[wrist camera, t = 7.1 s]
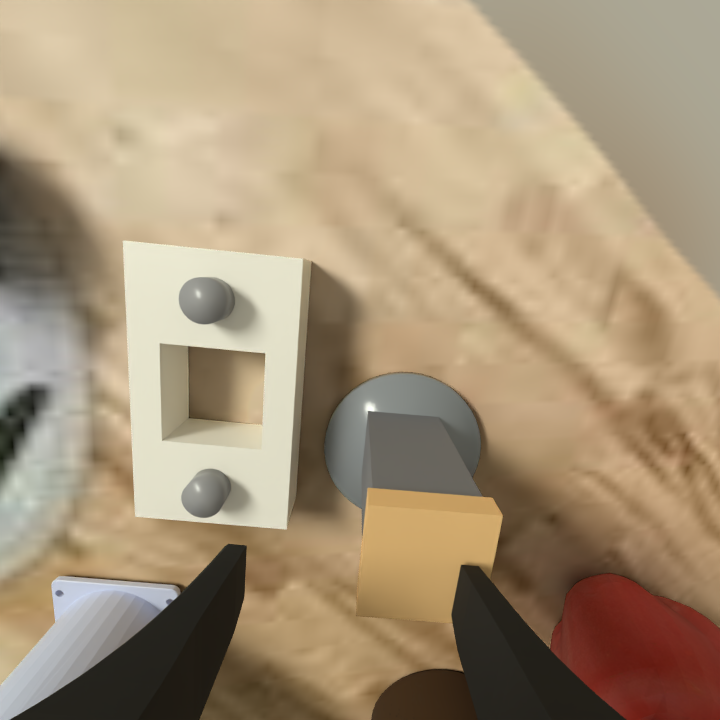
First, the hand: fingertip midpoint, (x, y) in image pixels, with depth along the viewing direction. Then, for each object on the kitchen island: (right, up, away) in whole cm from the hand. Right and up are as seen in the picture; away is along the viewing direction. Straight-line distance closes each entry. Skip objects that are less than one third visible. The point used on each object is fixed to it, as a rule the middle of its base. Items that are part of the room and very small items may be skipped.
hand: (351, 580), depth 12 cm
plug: (+3, +2, +9) cm, 10 cm away
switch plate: (-7, +6, +9) cm, 13 cm away
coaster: (+3, +2, +10) cm, 10 cm away
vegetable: (+16, -10, +13) cm, 22 cm away
